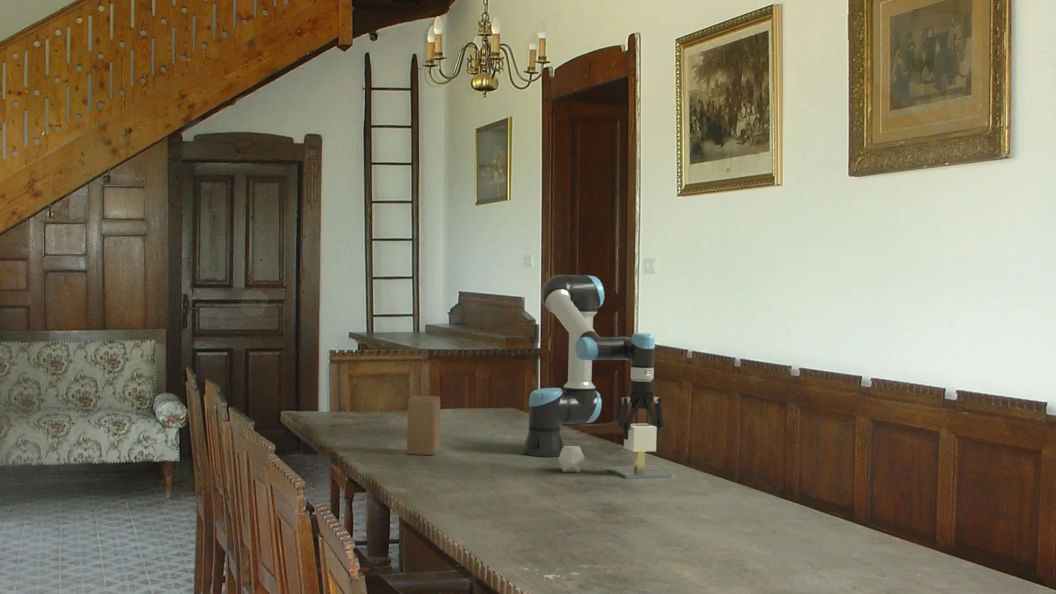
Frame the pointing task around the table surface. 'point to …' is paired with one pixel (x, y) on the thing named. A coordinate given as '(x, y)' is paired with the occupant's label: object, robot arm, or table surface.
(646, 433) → the cream open box
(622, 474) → the base plate
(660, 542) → the table surface
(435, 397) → the wooden block
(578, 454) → the die
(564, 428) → the table surface
